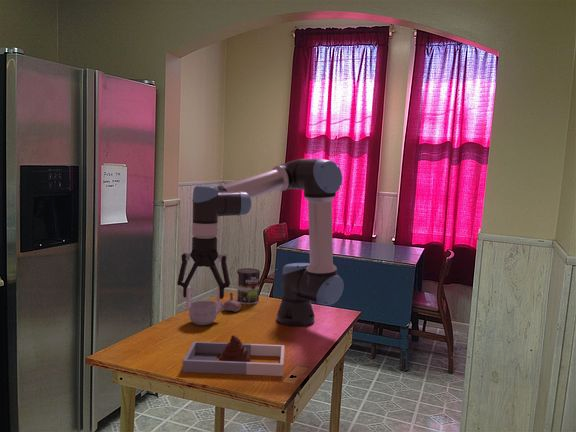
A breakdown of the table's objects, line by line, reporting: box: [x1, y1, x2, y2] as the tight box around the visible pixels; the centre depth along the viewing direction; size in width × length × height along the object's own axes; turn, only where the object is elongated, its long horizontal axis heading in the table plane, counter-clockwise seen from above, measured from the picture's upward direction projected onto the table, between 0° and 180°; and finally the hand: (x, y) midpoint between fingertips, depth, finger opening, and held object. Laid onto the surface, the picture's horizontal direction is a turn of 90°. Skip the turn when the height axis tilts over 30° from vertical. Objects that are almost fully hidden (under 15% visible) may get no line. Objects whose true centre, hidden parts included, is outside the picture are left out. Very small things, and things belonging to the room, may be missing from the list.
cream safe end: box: [246, 343, 285, 377], centre depth 161 cm, size 11×16×4 cm
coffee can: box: [235, 267, 261, 305], centre depth 229 cm, size 10×10×14 cm
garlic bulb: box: [222, 291, 242, 313], centre depth 215 cm, size 8×7×8 cm
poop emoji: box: [218, 334, 252, 362], centre depth 160 cm, size 10×8×9 cm
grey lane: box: [182, 341, 252, 376], centre depth 161 cm, size 19×16×4 cm
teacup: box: [188, 299, 224, 326], centre depth 198 cm, size 14×11×8 cm
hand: (203, 308), depth 159 cm, fingers open, 9 cm apart
